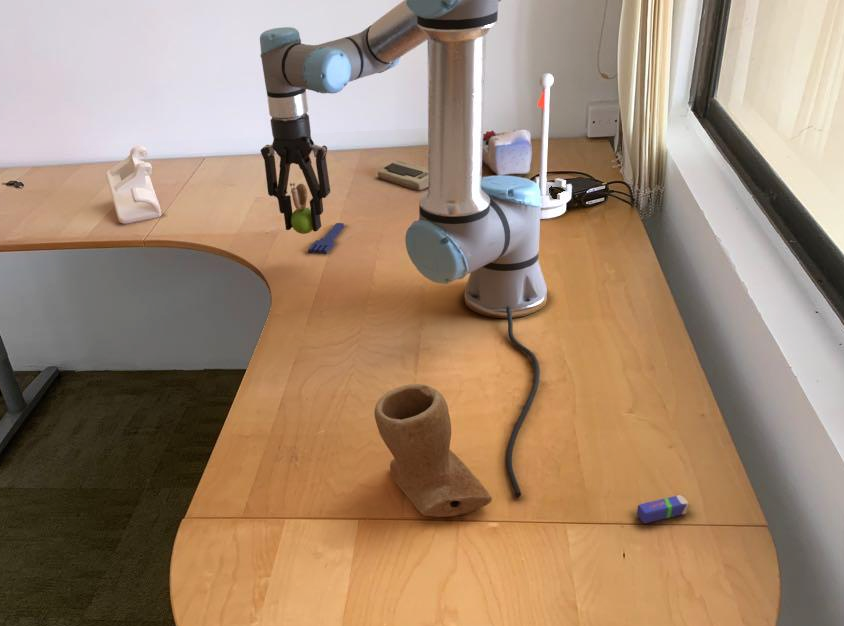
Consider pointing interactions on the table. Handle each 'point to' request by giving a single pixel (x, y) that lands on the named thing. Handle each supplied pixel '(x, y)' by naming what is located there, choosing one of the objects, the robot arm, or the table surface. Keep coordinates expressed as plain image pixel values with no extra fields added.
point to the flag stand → (549, 204)
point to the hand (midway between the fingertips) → (303, 227)
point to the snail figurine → (301, 210)
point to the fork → (326, 240)
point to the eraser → (662, 509)
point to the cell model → (507, 152)
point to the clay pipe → (426, 452)
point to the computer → (405, 175)
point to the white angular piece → (133, 188)
